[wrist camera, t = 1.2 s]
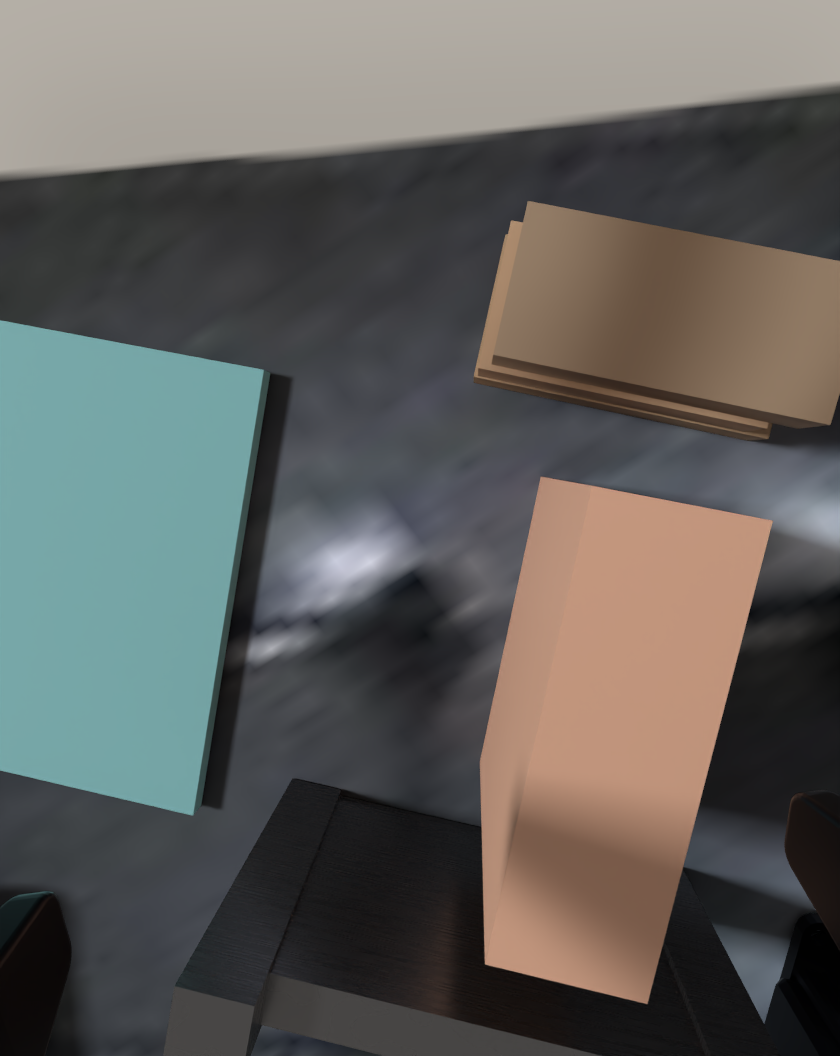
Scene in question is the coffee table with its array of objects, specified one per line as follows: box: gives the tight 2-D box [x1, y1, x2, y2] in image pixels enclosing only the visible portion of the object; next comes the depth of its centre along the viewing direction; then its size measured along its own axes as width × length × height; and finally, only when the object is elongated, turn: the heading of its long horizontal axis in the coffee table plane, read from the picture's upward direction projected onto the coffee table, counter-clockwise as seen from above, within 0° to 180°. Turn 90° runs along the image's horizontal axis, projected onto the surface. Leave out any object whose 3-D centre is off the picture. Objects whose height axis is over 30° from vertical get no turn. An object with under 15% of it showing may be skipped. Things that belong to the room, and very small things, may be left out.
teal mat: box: [0, 321, 270, 815], centre depth 20 cm, size 12×14×1 cm
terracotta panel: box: [480, 477, 773, 1004], centre depth 15 cm, size 3×9×8 cm, turn 169°
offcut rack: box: [163, 779, 780, 1056], centre depth 16 cm, size 12×2×8 cm, turn 79°
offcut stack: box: [474, 201, 840, 441], centre depth 16 cm, size 8×4×4 cm, turn 78°
